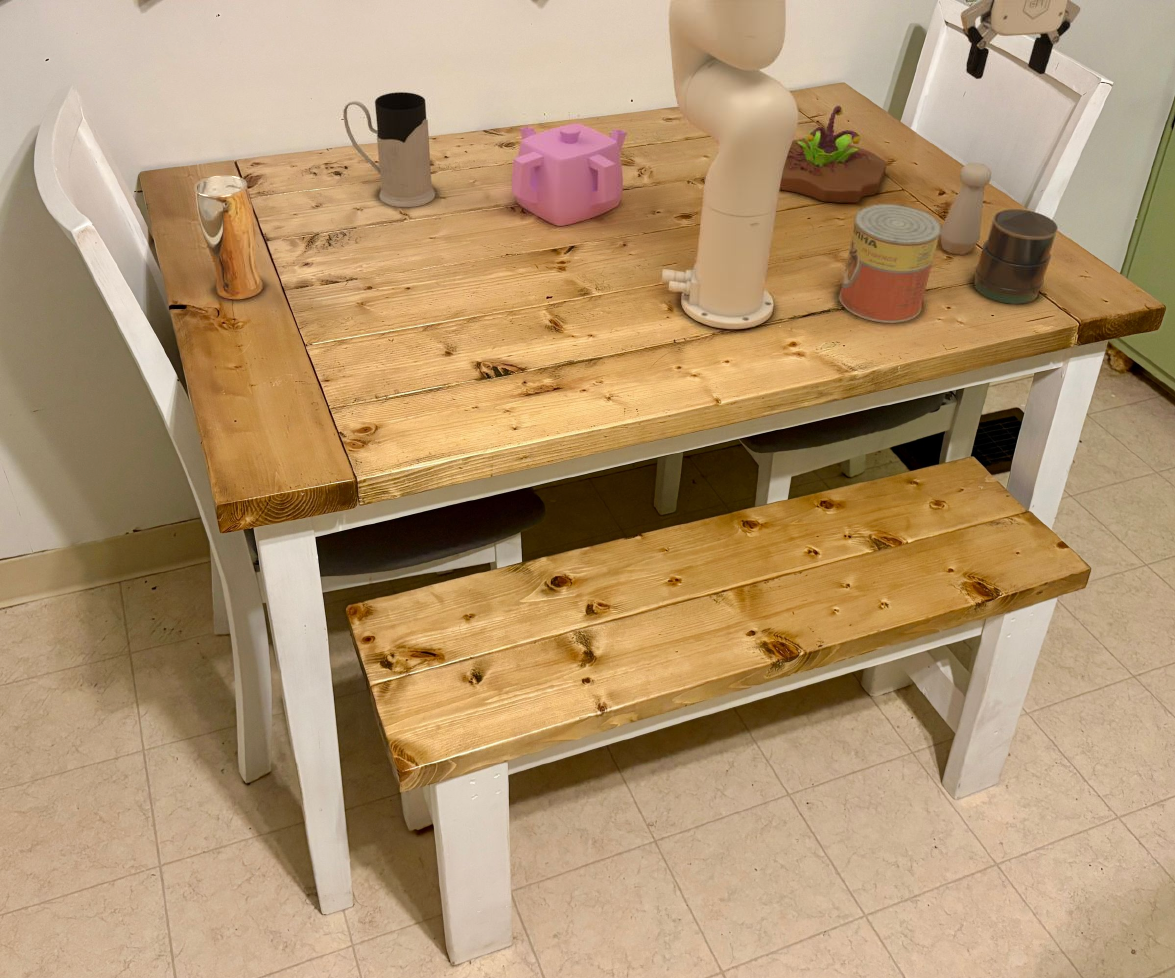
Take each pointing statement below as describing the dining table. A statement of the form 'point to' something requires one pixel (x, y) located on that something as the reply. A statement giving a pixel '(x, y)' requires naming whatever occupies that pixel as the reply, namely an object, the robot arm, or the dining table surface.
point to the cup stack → (1015, 256)
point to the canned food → (889, 262)
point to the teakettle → (568, 173)
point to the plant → (832, 166)
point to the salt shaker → (966, 211)
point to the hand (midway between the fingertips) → (1005, 73)
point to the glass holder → (400, 148)
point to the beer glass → (229, 234)
